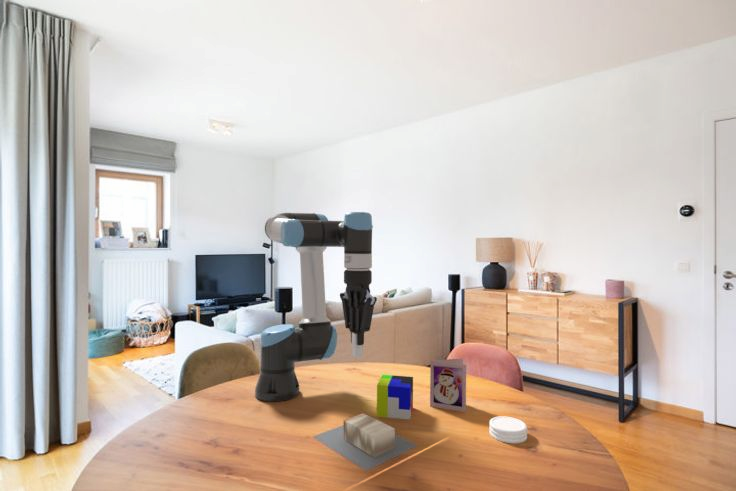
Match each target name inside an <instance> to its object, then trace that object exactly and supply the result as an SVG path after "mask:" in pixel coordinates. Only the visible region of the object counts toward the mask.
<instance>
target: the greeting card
mask: <svg viewBox="0 0 736 491" xmlns="http://www.w3.org/2000/svg"><path fill="white" fill-rule="evenodd" d="M429 368H430V372H429V373H430V374H429V375H430V376H429V377H430V378H429V379H430V380H429V381H430V382H429V383H430V384H429V385H430V386H429V388H430V390H429V396H430V397H429V407H432V408H437V409H443V410H444V409H445V410H450V411H456V412H457V411H458V412H462V413H463V412H464V413H466V412H467V364H464V358H448V359H447V358H446V359H432V360H430V367H429Z"/></svg>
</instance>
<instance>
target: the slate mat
mask: <svg viewBox="0 0 736 491" xmlns="http://www.w3.org/2000/svg"><path fill="white" fill-rule="evenodd" d="M312 438H314V439H315V440H317V441H319V442H321V443H322V444H323V445H325V446H326V447H328V448H329V449H331V450H333V451H334V452H335V453H338V454H339V455H341V456H342V457H344V458H345V459H346V460H348V461H350V462H351V463H353V464H355V465H356V466H357V467H359V468H361V469H362V470H364V471H365V472H368V471H370V470H372V469H374V468H376V467H377V466H380V465H382V464H384V463H386V462H388V461H390V460H392V459H394V458H395V457H397V456H400V455H402V454H403V453H406V452H408V451H410V450H412V449H414V448H416V447H418V446H419V445H418V444H417V443H414V442H412V441H410V440H408V439H406V438H403V437H402V436H400V435H398V434H396V433H395V448H393V449H391V450H389V451H387V452H385V453H382V454H380V455H378V456H376V457H373V456H372V455H370V454H368V453H367V452H365V451H363V450H361V449H360V448H358V447H356V446H355V445H353V444H351V443H350V442H348V441H346V440H344V424H343V425H340V426H337V427H335V428H331V429H329V430H326V431H324V432H322V433H319V434H315V435H313V436H312Z"/></svg>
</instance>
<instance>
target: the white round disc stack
mask: <svg viewBox="0 0 736 491" xmlns="http://www.w3.org/2000/svg"><path fill="white" fill-rule="evenodd" d="M488 423H489V426H488V427H489V432H488V433H489V435H490V436H491V437H492V438H493V439H495V440H497V441H499V442H502V443H505V444H506V443H507V444H521V443H524V442H526V441H527V439H528V426H527V424H526V423H525V422H524V421H522V420H520V419H518V418H515V417H512V416H504V415H502V416H501V415H500V416H494V417H492V418H490V419H489V422H488Z"/></svg>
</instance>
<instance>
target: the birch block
mask: <svg viewBox="0 0 736 491" xmlns="http://www.w3.org/2000/svg"><path fill="white" fill-rule="evenodd" d="M343 425H344V440H346V441H348V442H350V443H351V444H353V445H355V446H356V447H358V448H360V449H361V450H363V451H365V452H367V453H368V454H370V455H372V456H373V457H376V456H378V455H380V454H382V453H385V452H387V451H389V450H391V449H393V448H395V434H396V433H395V430H396V429H395V427H393V426H390V425H389V424H386V423H385V422H383V421H380V420H378V419H376V418H374V417H372V416H371V415H368V414H366V413H361V414H360V413H359V414H357V415H355V416H352V417H350V418H346V419H344V420H343Z"/></svg>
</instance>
